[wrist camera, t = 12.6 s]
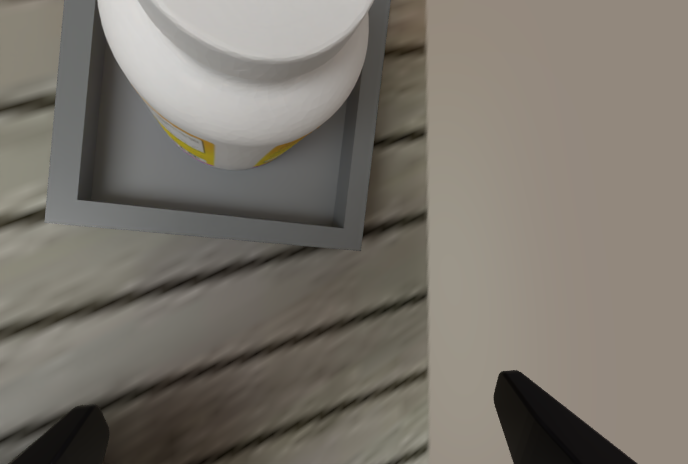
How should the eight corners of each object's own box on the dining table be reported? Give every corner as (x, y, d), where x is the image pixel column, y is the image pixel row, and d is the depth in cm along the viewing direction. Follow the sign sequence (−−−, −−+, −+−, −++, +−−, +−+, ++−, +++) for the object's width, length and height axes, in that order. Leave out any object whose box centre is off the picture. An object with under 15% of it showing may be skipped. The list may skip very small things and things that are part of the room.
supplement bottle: (305, 43, 20) (453, -208, 8) (296, 178, 20) (423, 143, 8) (156, 12, 18) (36, -401, 6) (149, 163, 18) (18, 85, 6)
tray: (344, 245, 22) (360, 250, 20) (66, 219, 18) (44, 222, 15) (373, 2, 21) (393, -22, 19) (94, -82, 17) (75, -127, 15)
